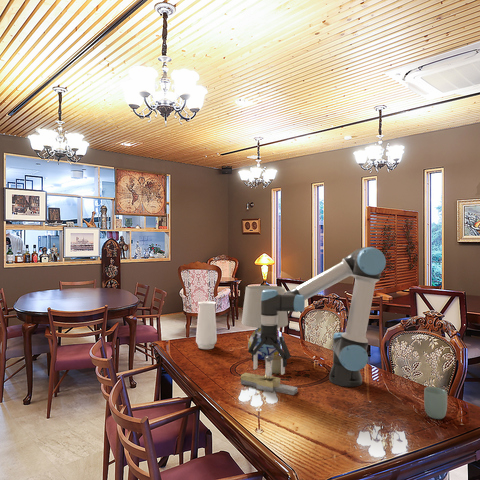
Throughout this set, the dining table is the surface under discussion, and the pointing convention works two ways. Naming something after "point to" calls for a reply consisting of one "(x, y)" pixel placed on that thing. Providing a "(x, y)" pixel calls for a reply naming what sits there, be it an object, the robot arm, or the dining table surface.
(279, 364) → the flower pot
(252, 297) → the table lamp
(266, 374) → the pin
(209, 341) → the vase
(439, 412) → the cup
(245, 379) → the bar with brass collar
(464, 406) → the dining table surface
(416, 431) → the dining table surface
